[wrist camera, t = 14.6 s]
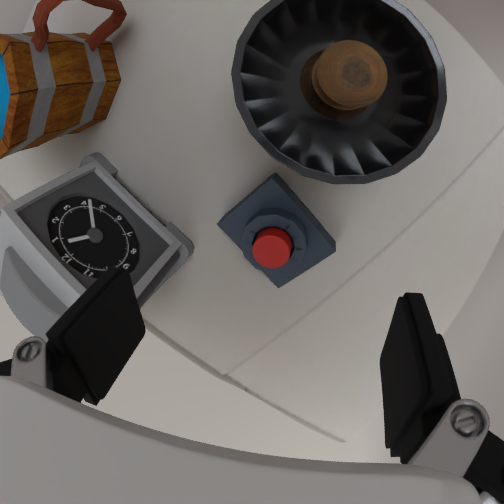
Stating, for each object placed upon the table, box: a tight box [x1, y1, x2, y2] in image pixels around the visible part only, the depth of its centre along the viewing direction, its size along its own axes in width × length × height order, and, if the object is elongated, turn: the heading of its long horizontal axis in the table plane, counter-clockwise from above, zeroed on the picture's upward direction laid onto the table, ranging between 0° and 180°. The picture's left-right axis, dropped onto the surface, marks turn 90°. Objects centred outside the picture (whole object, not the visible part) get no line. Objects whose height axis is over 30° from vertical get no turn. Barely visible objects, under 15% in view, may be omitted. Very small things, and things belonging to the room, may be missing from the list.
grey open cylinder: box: [231, 0, 447, 184], centre depth 21 cm, size 13×13×12 cm
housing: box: [217, 172, 336, 288], centre depth 33 cm, size 10×8×4 cm
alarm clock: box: [0, 153, 194, 342], centre depth 32 cm, size 18×13×18 cm
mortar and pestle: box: [300, 40, 388, 119], centre depth 18 cm, size 7×6×18 cm
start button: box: [252, 228, 292, 268], centre depth 31 cm, size 4×4×2 cm
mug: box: [0, 0, 127, 159], centre depth 23 cm, size 20×14×15 cm
